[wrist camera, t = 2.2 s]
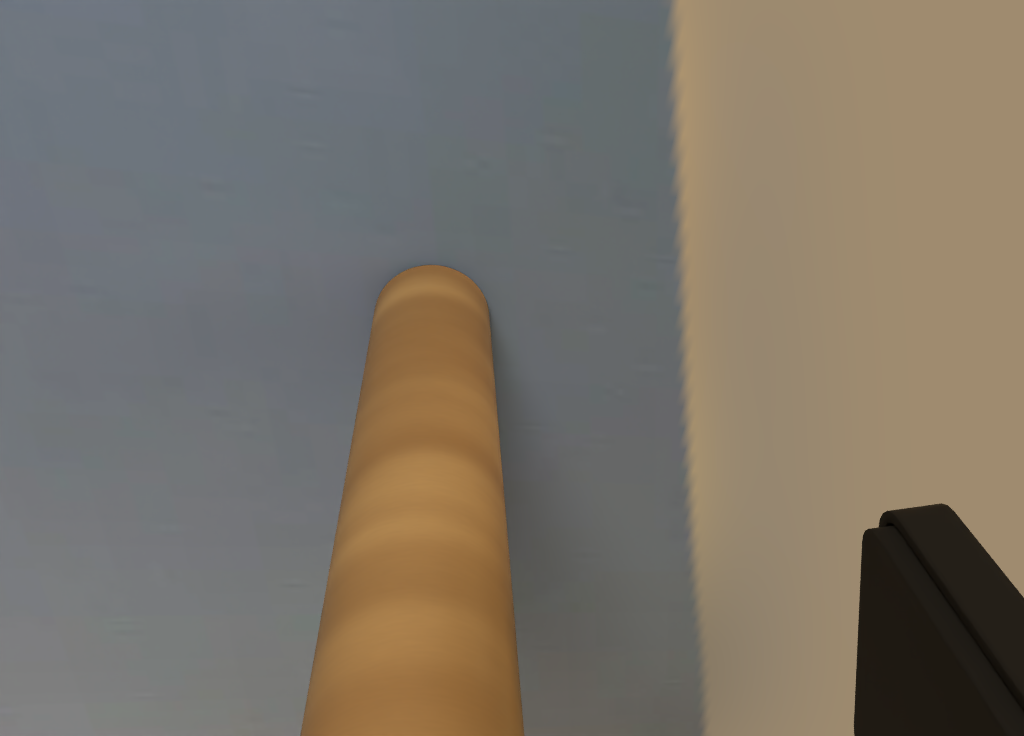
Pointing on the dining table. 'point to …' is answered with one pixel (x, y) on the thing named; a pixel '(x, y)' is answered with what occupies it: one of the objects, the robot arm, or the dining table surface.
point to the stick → (421, 533)
